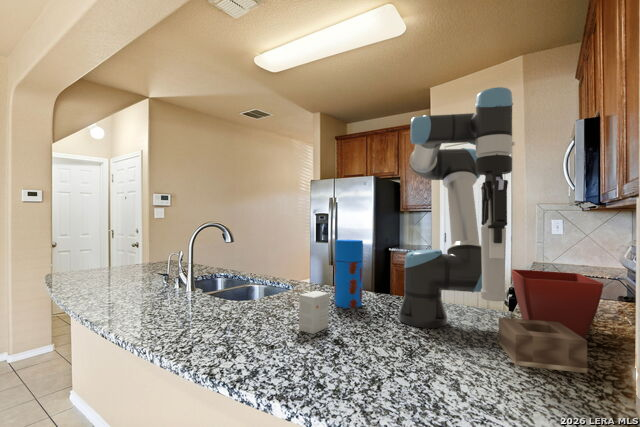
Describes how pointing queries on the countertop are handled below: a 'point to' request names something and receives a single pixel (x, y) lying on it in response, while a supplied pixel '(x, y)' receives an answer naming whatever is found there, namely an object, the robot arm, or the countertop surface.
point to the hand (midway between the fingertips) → (493, 256)
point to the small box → (313, 311)
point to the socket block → (543, 344)
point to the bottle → (492, 268)
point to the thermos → (348, 273)
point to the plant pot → (558, 298)
